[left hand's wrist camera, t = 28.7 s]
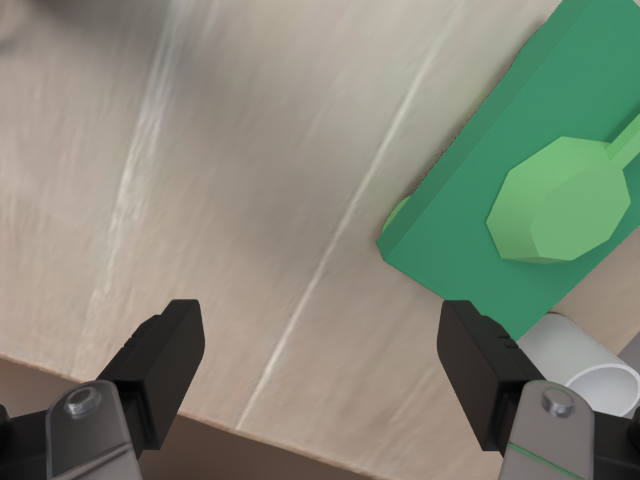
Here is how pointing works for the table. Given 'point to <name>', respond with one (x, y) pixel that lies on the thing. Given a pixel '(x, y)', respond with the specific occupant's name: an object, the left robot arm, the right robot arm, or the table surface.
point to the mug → (581, 364)
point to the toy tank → (534, 173)
